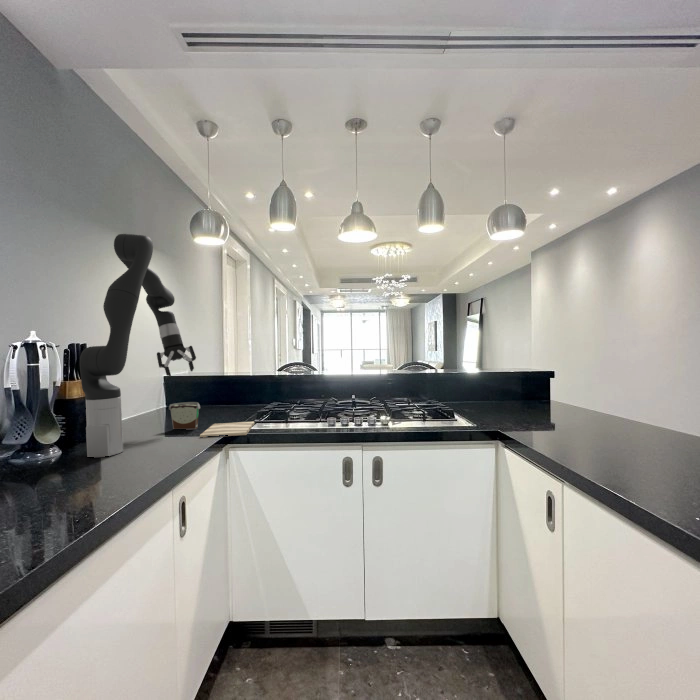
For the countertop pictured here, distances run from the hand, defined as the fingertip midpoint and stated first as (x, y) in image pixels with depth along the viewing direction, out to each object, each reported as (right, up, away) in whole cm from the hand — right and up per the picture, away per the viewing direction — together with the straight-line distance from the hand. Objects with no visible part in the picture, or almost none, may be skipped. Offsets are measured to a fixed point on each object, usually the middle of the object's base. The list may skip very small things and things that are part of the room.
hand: (181, 373), depth 160 cm
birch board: (+23, -21, -11) cm, 33 cm away
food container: (+4, -22, -3) cm, 22 cm away
